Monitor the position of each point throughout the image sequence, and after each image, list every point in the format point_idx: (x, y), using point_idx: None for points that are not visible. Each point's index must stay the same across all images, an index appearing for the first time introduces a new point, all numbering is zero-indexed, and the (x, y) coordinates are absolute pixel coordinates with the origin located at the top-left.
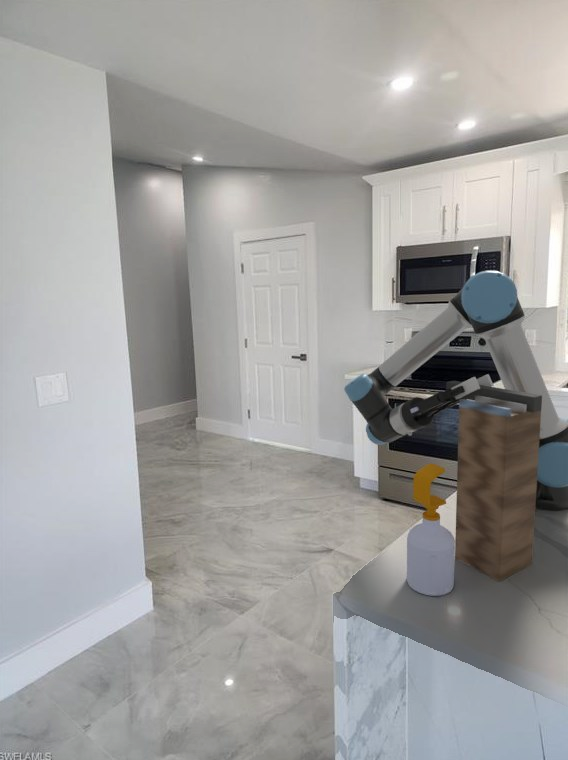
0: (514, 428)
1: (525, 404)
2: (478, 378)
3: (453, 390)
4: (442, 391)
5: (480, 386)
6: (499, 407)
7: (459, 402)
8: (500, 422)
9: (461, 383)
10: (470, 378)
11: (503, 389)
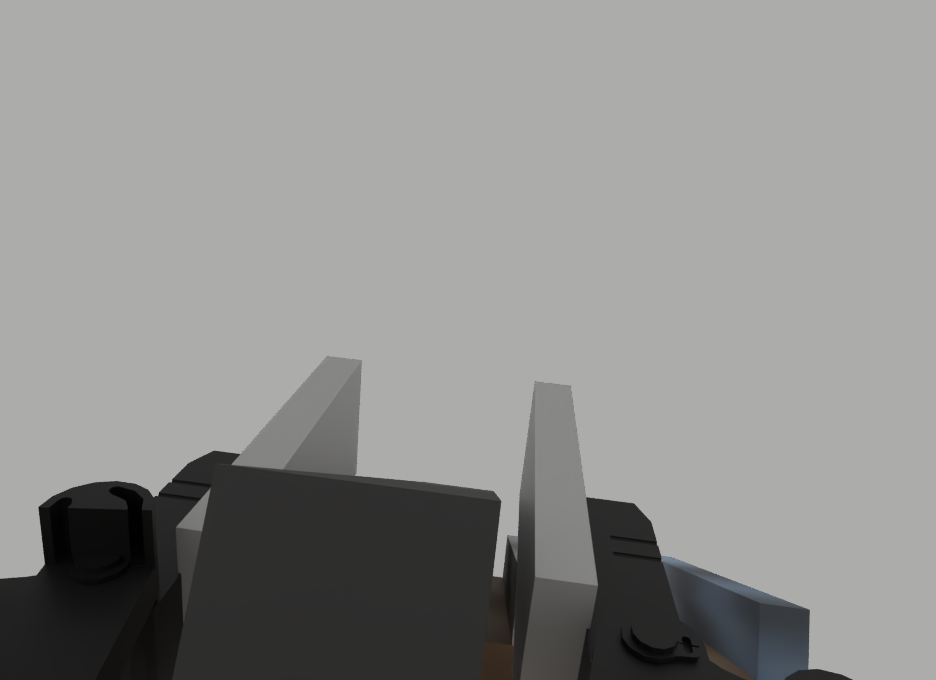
0: None
1: (509, 536)
2: (329, 402)
3: (661, 590)
4: (799, 674)
5: (432, 485)
6: (681, 562)
7: (807, 640)
8: None
9: (578, 468)
10: (572, 400)
11: (418, 482)
